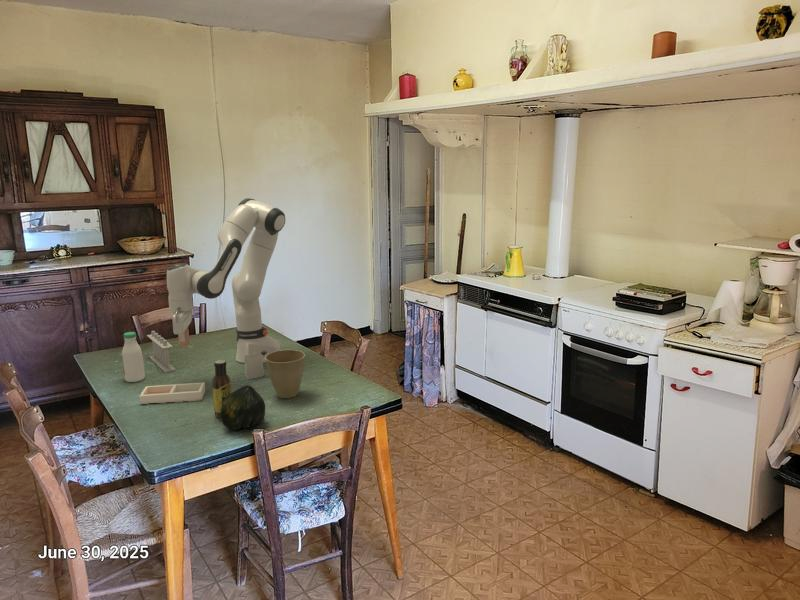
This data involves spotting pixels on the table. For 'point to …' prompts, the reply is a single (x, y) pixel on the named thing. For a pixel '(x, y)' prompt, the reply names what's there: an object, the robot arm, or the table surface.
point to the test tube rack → (161, 352)
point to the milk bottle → (132, 359)
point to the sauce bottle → (220, 386)
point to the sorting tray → (172, 393)
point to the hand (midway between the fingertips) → (184, 339)
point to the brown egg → (185, 338)
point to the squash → (243, 408)
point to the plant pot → (285, 371)
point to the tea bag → (253, 366)
